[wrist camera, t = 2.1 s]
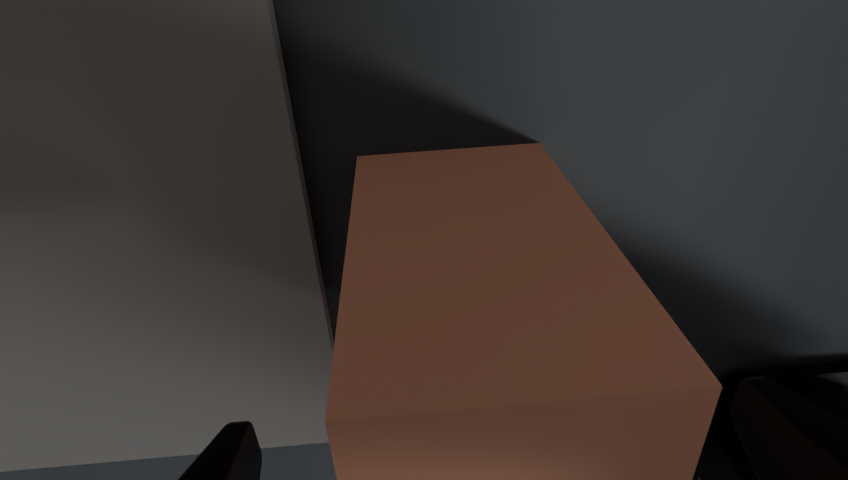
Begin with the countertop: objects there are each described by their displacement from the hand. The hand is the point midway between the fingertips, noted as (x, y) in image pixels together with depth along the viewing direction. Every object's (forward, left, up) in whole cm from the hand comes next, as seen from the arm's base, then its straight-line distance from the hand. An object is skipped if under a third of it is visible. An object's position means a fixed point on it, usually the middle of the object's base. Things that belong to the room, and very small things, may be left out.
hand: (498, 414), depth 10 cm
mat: (+13, 0, -7) cm, 15 cm away
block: (0, 0, -7) cm, 7 cm away
